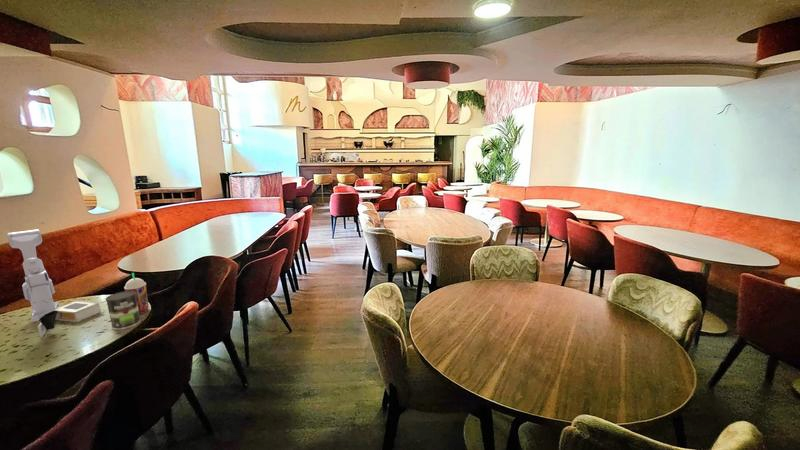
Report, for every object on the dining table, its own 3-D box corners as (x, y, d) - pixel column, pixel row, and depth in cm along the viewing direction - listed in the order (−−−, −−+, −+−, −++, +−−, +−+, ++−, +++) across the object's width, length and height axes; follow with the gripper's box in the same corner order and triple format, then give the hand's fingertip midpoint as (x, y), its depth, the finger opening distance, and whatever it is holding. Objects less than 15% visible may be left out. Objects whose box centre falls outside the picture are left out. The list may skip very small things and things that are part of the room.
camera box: (78, 310, 165) (76, 300, 164) (101, 312, 162) (98, 302, 161) (54, 319, 155) (51, 309, 154) (78, 322, 152) (75, 311, 151)
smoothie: (154, 310, 163) (146, 271, 159) (133, 317, 156) (125, 277, 152) (146, 306, 168) (139, 269, 163) (126, 312, 161) (118, 274, 156)
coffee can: (143, 323, 150) (137, 294, 147) (114, 332, 143) (107, 302, 140) (138, 316, 157) (133, 288, 154) (110, 324, 150) (104, 295, 147)
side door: (53, 319, 155) (51, 309, 154) (43, 336, 140) (40, 326, 139) (51, 319, 154) (48, 310, 153) (40, 337, 139) (37, 326, 138)
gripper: (41, 294, 145) (49, 322, 148) (18, 308, 132) (26, 339, 135) (62, 292, 148) (69, 319, 151) (41, 305, 134) (49, 335, 137)
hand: (50, 328), depth 143 cm, fingers closed
